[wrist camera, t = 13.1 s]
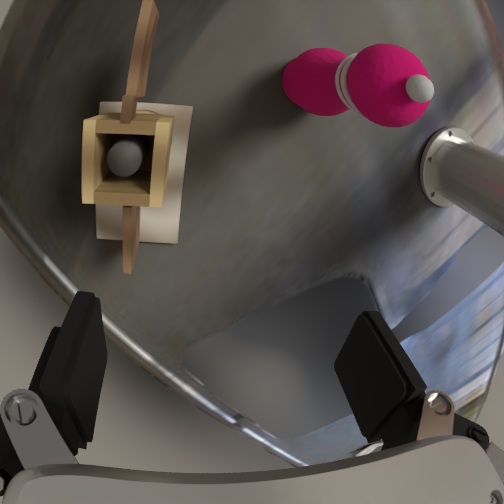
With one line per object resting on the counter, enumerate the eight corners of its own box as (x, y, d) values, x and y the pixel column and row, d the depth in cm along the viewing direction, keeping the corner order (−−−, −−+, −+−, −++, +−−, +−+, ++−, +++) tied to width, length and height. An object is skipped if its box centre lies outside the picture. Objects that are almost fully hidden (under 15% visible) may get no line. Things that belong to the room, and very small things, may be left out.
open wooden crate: (121, 16, 20) (103, -3, 14) (191, 18, 22) (192, -2, 16) (103, 178, 28) (82, 203, 22) (167, 181, 30) (161, 207, 24)
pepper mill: (286, 118, 33) (389, 160, 16) (269, 58, 29) (365, 31, 12) (343, 104, 33) (471, 138, 16) (329, 47, 29) (457, 32, 12)
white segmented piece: (352, 449, 86) (356, 457, 83) (435, 403, 83) (439, 410, 80) (356, 454, 90) (360, 462, 88) (434, 411, 88) (438, 418, 85)
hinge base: (102, 101, 28) (68, 108, 19) (192, 106, 30) (193, 112, 21) (98, 235, 35) (74, 284, 26) (177, 240, 38) (175, 291, 29)
